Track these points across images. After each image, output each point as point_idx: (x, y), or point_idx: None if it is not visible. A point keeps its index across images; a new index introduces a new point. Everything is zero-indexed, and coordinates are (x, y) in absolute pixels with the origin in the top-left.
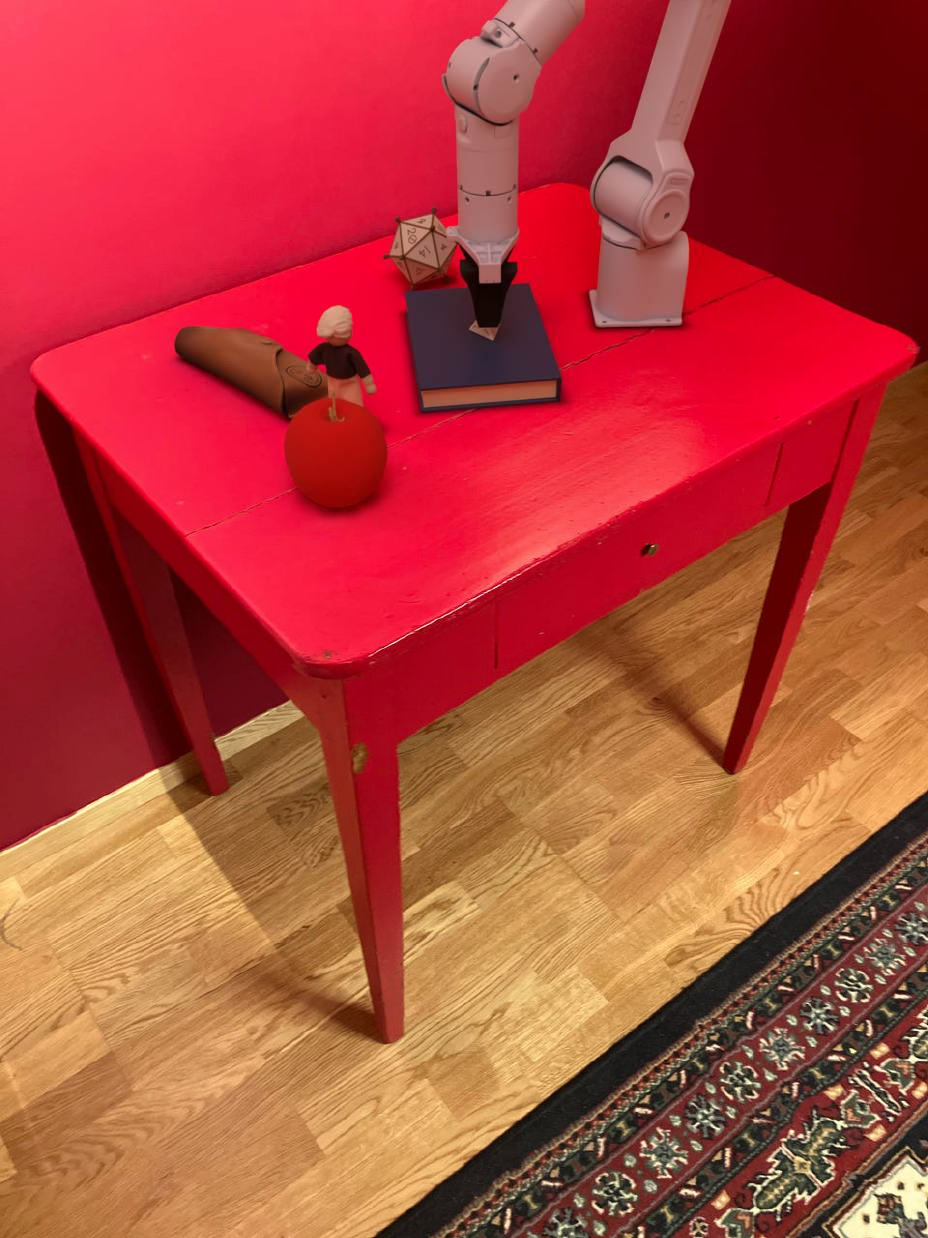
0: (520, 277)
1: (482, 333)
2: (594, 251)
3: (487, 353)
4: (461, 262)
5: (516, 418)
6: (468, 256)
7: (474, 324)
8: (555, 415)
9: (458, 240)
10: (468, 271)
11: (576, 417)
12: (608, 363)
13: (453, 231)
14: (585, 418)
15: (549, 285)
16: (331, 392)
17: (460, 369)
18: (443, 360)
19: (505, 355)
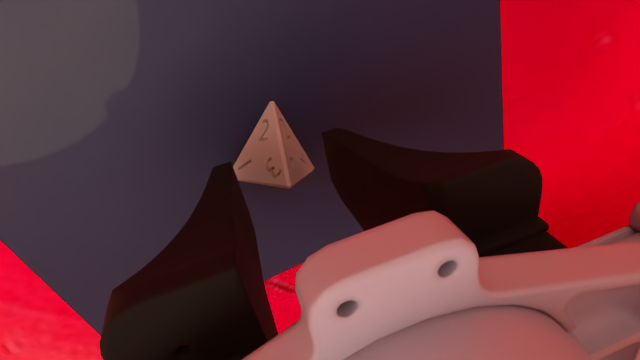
0: (576, 101)
1: (246, 148)
2: (627, 196)
3: (157, 183)
4: (193, 294)
5: (9, 256)
6: (404, 193)
7: (270, 125)
8: (66, 310)
9: (295, 337)
10: (104, 354)
11: (78, 339)
12: (282, 319)
13: (382, 310)
14: (83, 350)
15: (537, 161)
16: None
17: (27, 141)
18: (58, 73)
19: (163, 225)
